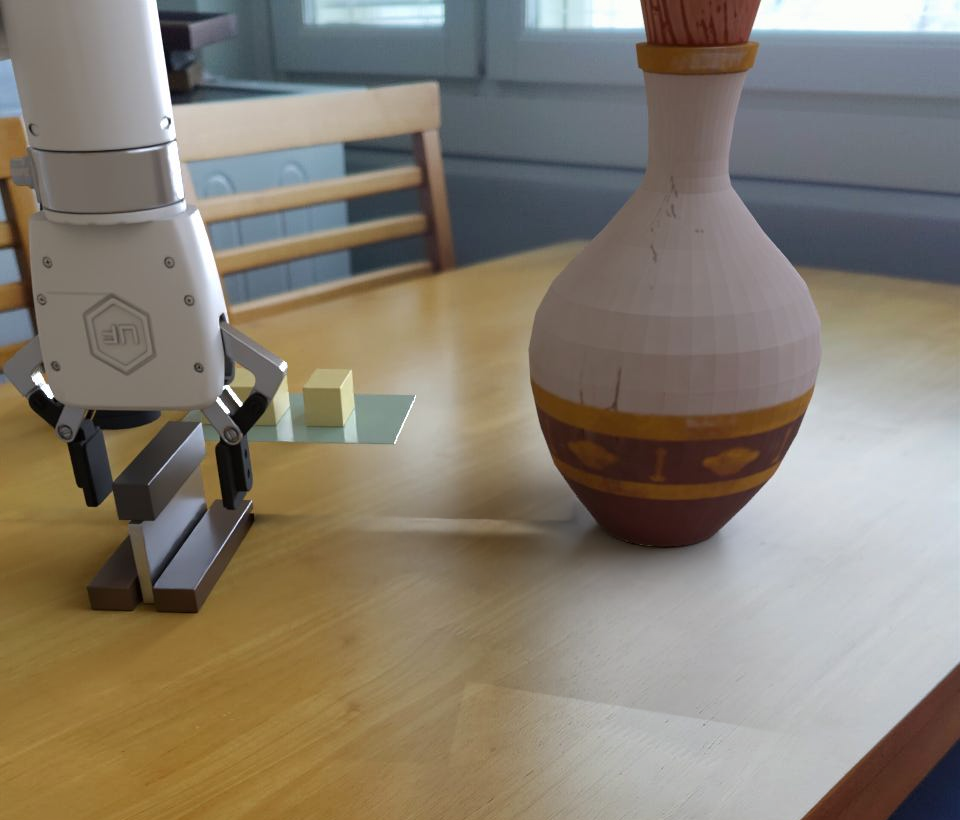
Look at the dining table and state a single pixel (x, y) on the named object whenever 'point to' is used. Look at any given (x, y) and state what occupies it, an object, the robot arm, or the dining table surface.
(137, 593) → the stand
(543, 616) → the dining table surface
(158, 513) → the black and grey blade
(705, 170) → the ceramic vase
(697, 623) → the dining table surface
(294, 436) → the butter dish
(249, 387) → the butter
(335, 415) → the butter pat
